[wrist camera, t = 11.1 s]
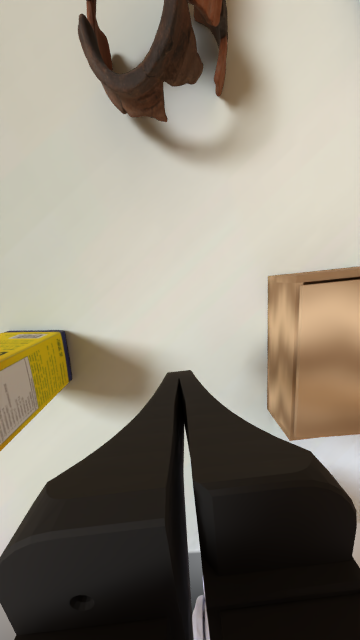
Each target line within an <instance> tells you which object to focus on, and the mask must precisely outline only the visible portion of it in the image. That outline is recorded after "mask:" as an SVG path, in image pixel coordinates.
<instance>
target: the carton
mask: <svg viewBox="0 0 360 640" xmlns="http://www.w3.org/2000/svg"><path fill="white" fill-rule="evenodd" d="M359 279H360V267H351V268H341V269H332V270H322V271H313V272H303V273H294V274H284V275H275V276H268V385H267V409H268V411H269V412H270V414H271V415H272V416H273V418H274V419H275V420H276V422H277V423H278V425H279V426H280V427H281V429H282V430H283V432H284V433H285V434H286V436H287V437H288V439H289V440H290V441H292V440H301V439H296V438H295V437H294V415H295V392H296V369H297V346H298V323H299V301H300V285H310V284H320V283H329V282H339V281H349V280H359ZM316 438H318V437H316ZM304 439H309V438H304Z"/></svg>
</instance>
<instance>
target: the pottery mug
mask: <svg viewBox="0 0 360 640" xmlns="http://www.w3.org/2000/svg"><path fill="white" fill-rule="evenodd" d="M86 1H87V18H86V17H85V15H83V14H80V15H79V25H78V35H79V39H80V42H81V46H82V49H83V51H84V54H85V56H86V58H87V60H88V63H89V65H90V67H91V69H92V71H93V72H94V74H95V75H96V77H97V78H98V79H99V80H100V81H101V83H102V85H103V87H104V89H105V91H106V93H107V95H108V97H109V98H110V100H111V101H112V103H113V104H114V105H115V106H116V107H117V108H118V109H119V110H120V111H121V112H122V113H123V114H126V113H128V114H129V116H131V117H140V116H141V117H142V116H148V117H152V118H156V119H157V120H159V121H164V122H167V116H166V114H165V108H164V92H163V82H164V81H165V82H167V83H168V84H170V85H171V86H181V85H184V84H186V83H187V84H195V83H196V82H197V80H198V78H199V77H200V75H201V74H202V71H203V63H202V62H201V59H200V57H199V55H198V53H197V46H196V39H195V34H194V31H193V28H192V24H191V18H190V13H189V8H188V3H190V4H192V5H194V18H195V21H197V22H199V23H202V24H204V25H205V26H206V27H208V28H209V29H210V31H211V32H212V34H213V35H214V37H215V39H216V41H217V44H218V48H219V55H218V61H217V66H216V71H215V75H214V82H215V84H216V95H217V96H220V94H221V92H222V88H223V84H224V79H225V70H226V55H227V40H228V32H227V8H226V1H225V0H164V7H163V12H162V17H161V21H160V24H159V27H158V30H157V33H156V36H155V39H154V42H153V44H152V46H151V48H150V51H149V52H148V54H147V55H146V57H145V59H144V60H143V61H142V63H141V64H139V65H138V66H137V67H136V68H135V69H133V70H131V71H130V72H128V73H124V74H117V73H114V72H113V71H112V61H111V54H110V49H109V44H108V41H107V38H106V36H105V35H104V33H103V32H102V31H101V30H100V29H99V26H98V24H97V20H96V0H86Z"/></svg>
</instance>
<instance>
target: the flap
mask: <svg viewBox="0 0 360 640" xmlns="http://www.w3.org/2000/svg"><path fill="white" fill-rule="evenodd" d="M354 434H360V279H359V280H349V281H339V282H329V283H320V284H310V285H300V301H299V323H298V346H297V369H296V392H295V415H294V437H295V438H296V439H304V438H316V437H329V436H342V435H354Z"/></svg>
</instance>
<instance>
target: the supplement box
mask: <svg viewBox="0 0 360 640" xmlns="http://www.w3.org/2000/svg"><path fill="white" fill-rule="evenodd" d="M71 380H72V374H71V368H70V362H69V355H68V349H67V343H66V336H65V331H63V330H49V331H7V332H4V333H1V334H0V451H1V450H2V449H3V448H4V447H5V446H6V445H7V444H8V443H9V442H10V441H11V440H12V439H13V438H14V437H15V436H16V435H17V434H18V433H19V432H20V431H21V430H22V429H23V428H24V427H25V426H26V425H27V424H28V423H29V422H30V421H31V420H32V419H33V418H34V417H35V416H36V415H37V414H38V413H39V412H40V411H41V410H42V409H43V408H44V407H45V406H46V405H47V404H48V403H49V402H50V401H51V400H52V399H53V398H54V397H55V396H56V395H57V394H58V393H59V392H60V391H61V390H62V389H63V388H64V387H65V386H66V385H67V384H68V383H69V382H70V381H71Z"/></svg>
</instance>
